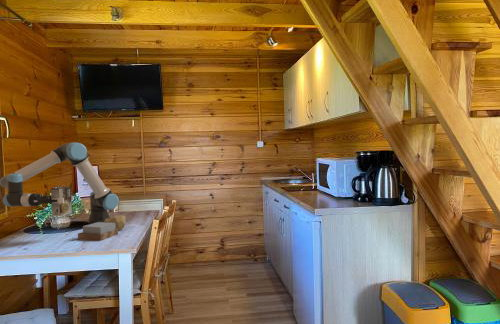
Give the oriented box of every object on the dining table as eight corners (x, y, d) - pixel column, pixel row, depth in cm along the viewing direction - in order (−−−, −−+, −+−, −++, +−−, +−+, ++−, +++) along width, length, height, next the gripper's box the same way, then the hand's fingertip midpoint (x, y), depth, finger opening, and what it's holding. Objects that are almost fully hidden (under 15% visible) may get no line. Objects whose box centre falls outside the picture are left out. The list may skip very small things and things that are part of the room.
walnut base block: (96, 234, 225) (96, 227, 225) (118, 235, 221) (117, 229, 221) (78, 240, 210) (77, 233, 210) (100, 241, 206) (100, 234, 206)
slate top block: (98, 228, 224) (98, 222, 224) (115, 229, 220) (115, 223, 220) (82, 232, 212) (82, 226, 211) (100, 234, 208) (100, 227, 207)
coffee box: (63, 213, 216) (63, 186, 215) (72, 213, 214) (71, 186, 213) (51, 215, 207) (50, 188, 207) (59, 216, 205) (59, 188, 205)
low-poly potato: (130, 229, 235) (126, 219, 243) (127, 217, 229) (122, 207, 237) (107, 238, 229) (103, 227, 237) (103, 226, 223) (99, 215, 231)
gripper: (43, 203, 222) (78, 202, 221) (19, 209, 199) (58, 208, 199) (43, 191, 222) (78, 190, 221) (18, 195, 199) (57, 195, 199)
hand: (68, 199), depth 210 cm, fingers closed on coffee box, 10 cm apart
